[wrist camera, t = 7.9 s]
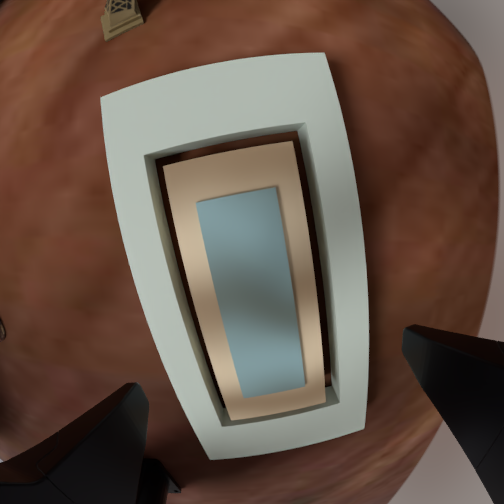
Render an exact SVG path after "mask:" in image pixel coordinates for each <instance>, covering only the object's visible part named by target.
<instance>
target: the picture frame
mask: <svg viewBox="0 0 504 504" xmlns="http://www.w3.org/2000/svg"><path fill="white" fill-rule="evenodd" d="M163 169H164V175H165V180H166V185H167V191H168V196H169V201H170V206H171V211H172V215H173V220H174V225H175V229H176V234H177V238H178V243H179V247H180V251H181V255H182V260H183V264H184V268H185V272H186V276H187V280H188V284H189V287H190V291H191V295H192V299H193V302H194V306H195V310H196V313H197V317H198V320H199V324H200V327H201V331H202V334H203V337H204V341H205V344H206V347H207V351H208V354H209V357H210V360H211V363H212V367H213V370H214V373H215V376H216V379H217V382H218V385H219V388H220V391H221V394H222V396H223V399H224V402H225V405H226V408H227V411H228V413H229V416H230V419H231V421H232V420H240V419H247V418H254V417H260V416H266V415H271V414H277V413H282V412H287V411H292V410H296V409H301V408H305V407H309V406H313V405H317V404H321V403H325V402H326V397H325V380H324V365H323V352H322V341H321V330H320V319H319V310H318V301H317V292H316V284H315V275H314V268H313V260H312V253H311V246H310V239H309V232H308V225H307V219H306V213H305V207H304V201H303V195H302V189H301V183H300V178H299V172H298V167H297V162H296V157H295V152H294V147H293V142H292V141H289V142H282V143H275V144H268V145H262V146H255V147H250V148H244V149H238V150H233V151H228V152H223V153H218V154H213V155H208V156H203V157H199V158H194V159H190V160H186V161H182V162H178V163H174V164H170V165H166V166H163Z"/></svg>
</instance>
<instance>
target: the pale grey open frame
mask: <svg viewBox="0 0 504 504" xmlns="http://www.w3.org/2000/svg"><path fill="white" fill-rule="evenodd" d="M101 110H102V121H103V131H104V139H105V147H106V155H107V161H108V168H109V174H110V180H111V186H112V191H113V196H114V201H115V206H116V211H117V216H118V220H119V225H120V229H121V233H122V238H123V242H124V246H125V249H126V253H127V257H128V261H129V264H130V268H131V272H132V275H133V278H134V282H135V285H136V288H137V292H138V295H139V298H140V301H141V304H142V307H143V310H144V313H145V316H146V319H147V322H148V325H149V328H150V330H151V333H152V336H153V338H154V341H155V344H156V346H157V349H158V352H159V354H160V357H161V359H162V362H163V364H164V367H165V369H166V371H167V374H168V376H169V378H170V381H171V383H172V385H173V388H174V390H175V392H176V394H177V396H178V399H179V401H180V403H181V405H182V407H183V409H184V411H185V413H186V415H187V417H188V419H189V421H190V423H191V425H192V427H193V429H194V431H195V433H196V435H197V437H198V439H199V441H200V443H201V445H202V446H203V448H204V450H205V452H206V454H207V455H208V457H209V459H210V460H218V459H229V458H239V457H247V456H254V455H261V454H267V453H273V452H278V451H284V450H289V449H293V448H298V447H302V446H307V445H311V444H315V443H319V442H322V441H326V440H330V439H333V438H337V437H340V436H343V435H346V434H350V433H353V432H356V431H359V430H362V429H364V427H365V417H366V405H367V390H368V368H369V310H368V287H367V271H366V259H365V248H364V238H363V229H362V221H361V213H360V206H359V199H358V192H357V186H356V180H355V174H354V168H353V163H352V158H351V153H350V148H349V143H348V138H347V134H346V129H345V125H344V121H343V116H342V112H341V108H340V104H339V101H338V97H337V93H336V89H335V86H334V82H333V79H332V76H331V72H330V69H329V66H328V62H327V59H326V56H325V53H297V54H281V55H270V56H260V57H252V58H244V59H237V60H231V61H225V62H220V63H214V64H209V65H204V66H200V67H195V68H191V69H187V70H183V71H179V72H175V73H171V74H167V75H164V76H160V77H157V78H154V79H150V80H147V81H144V82H141V83H138V84H135V85H132V86H129V87H127V88H124V89H121V90H118V91H116V92H113V93H111V94H108V95H106V96H103V97H101ZM292 131H298V136H299V141H300V145H301V150H302V155H303V160H304V165H305V170H306V175H307V181H308V186H309V192H310V197H311V203H312V209H313V215H314V221H315V228H316V234H317V241H318V248H319V255H320V263H321V271H322V279H323V287H324V296H325V305H326V315H327V325H328V337H329V349H330V363H331V380H332V386H329V387H326V388H325V397H326V402H325V403H321V404H317V405H313V406H309V407H305V408H301V409H296V410H292V411H287V412H282V413H277V414H271V415H266V416H260V417H254V418H247V419H240V420H232V421H231V419H230V416H229V413H228V411H227V408H223V407H222V405H221V402H220V399H219V397H218V394H217V391H216V388H215V386H214V383H213V380H212V377H211V374H210V371H209V368H208V366H207V363H206V360H205V357H204V354H203V350H202V347H201V344H200V341H199V338H198V335H197V332H196V328H195V325H194V322H193V318H192V315H191V312H190V308H189V305H188V301H187V298H186V294H185V291H184V287H183V283H182V280H181V276H180V272H179V268H178V264H177V260H176V256H175V252H174V248H173V244H172V240H171V236H170V232H169V227H168V223H167V218H166V214H165V209H164V204H163V200H162V195H161V190H160V185H159V179H158V174H157V169H156V163H155V159H158V158H162V157H166V156H169V155H173V154H177V153H181V152H185V151H189V150H193V149H198V148H202V147H207V146H211V145H216V144H221V143H225V142H230V141H236V140H241V139H247V138H252V137H258V136H264V135H271V134H278V133H285V132H292Z"/></svg>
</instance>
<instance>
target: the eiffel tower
mask: <svg viewBox="0 0 504 504" xmlns="http://www.w3.org/2000/svg"><path fill="white" fill-rule="evenodd" d="M104 13H105V15H103V16H101V22H102V28H103V33H104V37H105V41H106V42H107V41H109V40H111V39H113V38H115V37H117V36H119V35H121V34H123V33H125V32H127V31H129V30H131V29H133V28H135V27H138V26H140V25H142V24H144V21H143V18H142V15H141V12H140V9H139V5H138V2H137V0H107V2H106V6H105V12H104Z"/></svg>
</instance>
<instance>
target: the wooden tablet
mask: <svg viewBox="0 0 504 504" xmlns="http://www.w3.org/2000/svg"><path fill="white" fill-rule="evenodd" d="M4 338H5V332H4V328H3V326H2V323H1V320H0V342H1V341H3V340H4Z"/></svg>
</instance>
